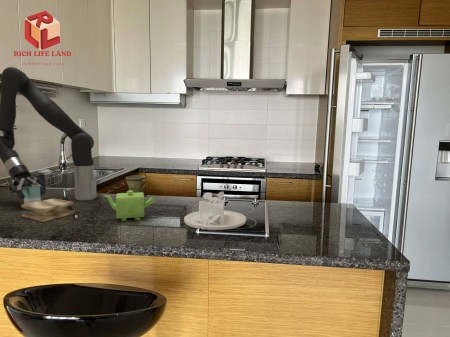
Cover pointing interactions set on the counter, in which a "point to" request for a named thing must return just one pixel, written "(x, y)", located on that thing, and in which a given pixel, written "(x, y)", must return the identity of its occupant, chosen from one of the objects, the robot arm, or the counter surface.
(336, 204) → the counter surface
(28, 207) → the stand
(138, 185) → the ceramic cup
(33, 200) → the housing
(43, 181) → the small box
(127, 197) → the kettle
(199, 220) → the dish
